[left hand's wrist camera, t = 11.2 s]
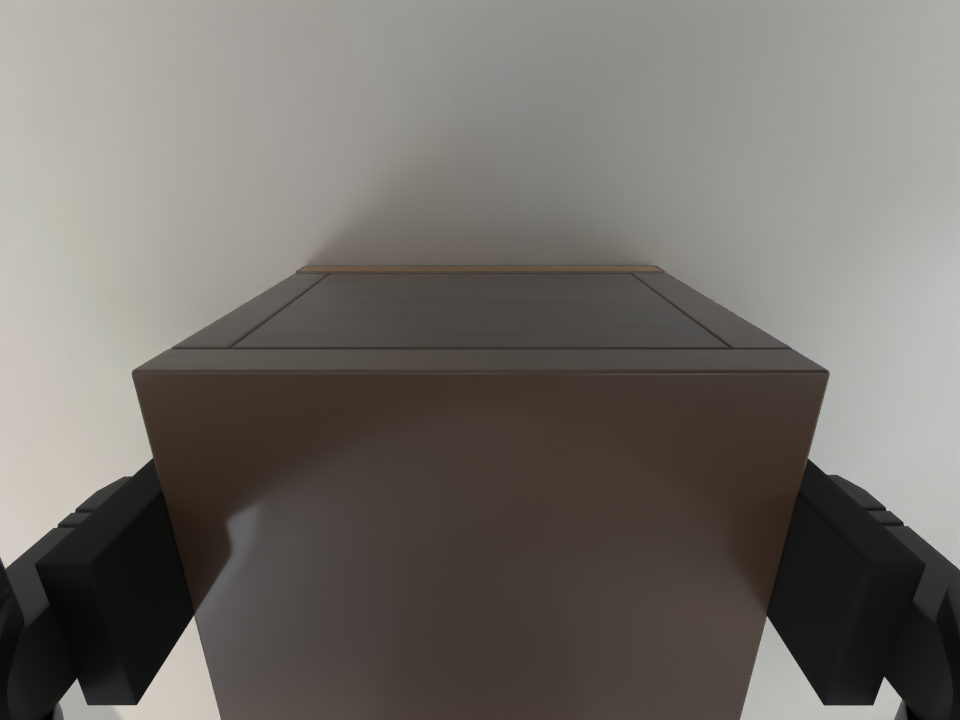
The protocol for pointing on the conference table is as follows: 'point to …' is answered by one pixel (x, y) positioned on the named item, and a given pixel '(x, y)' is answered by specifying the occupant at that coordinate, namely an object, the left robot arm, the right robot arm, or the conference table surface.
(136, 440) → the conference table surface
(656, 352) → the cabinet
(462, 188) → the conference table surface
